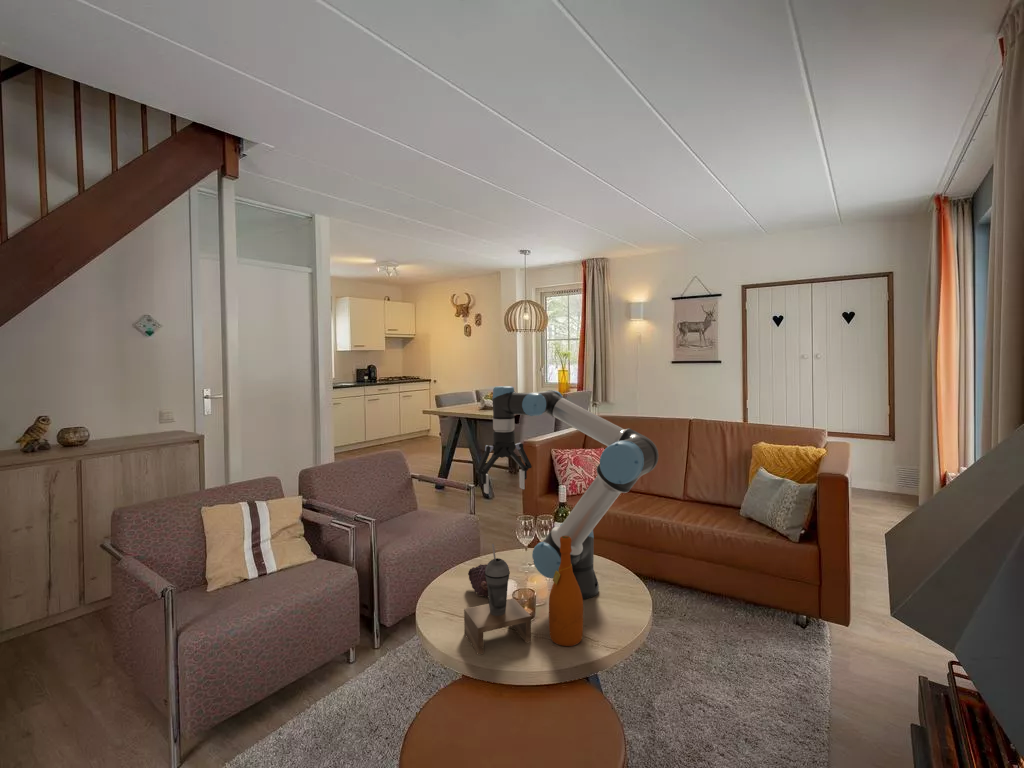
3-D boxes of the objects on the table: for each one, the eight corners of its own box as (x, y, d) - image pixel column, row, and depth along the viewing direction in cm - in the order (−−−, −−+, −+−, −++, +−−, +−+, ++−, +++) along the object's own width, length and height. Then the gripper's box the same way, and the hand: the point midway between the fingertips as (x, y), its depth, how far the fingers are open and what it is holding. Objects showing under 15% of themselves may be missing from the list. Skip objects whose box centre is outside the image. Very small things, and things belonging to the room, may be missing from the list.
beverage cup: (507, 619, 144) (506, 549, 143) (482, 617, 145) (481, 548, 144) (512, 607, 151) (511, 540, 150) (488, 605, 153) (487, 539, 152)
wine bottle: (554, 627, 154) (554, 529, 152) (586, 633, 150) (586, 532, 149) (544, 644, 145) (543, 540, 143) (578, 651, 141) (578, 544, 140)
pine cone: (459, 588, 180) (459, 561, 180) (483, 581, 186) (482, 554, 186) (487, 608, 166) (487, 577, 166) (512, 599, 172) (511, 570, 172)
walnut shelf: (514, 622, 157) (513, 598, 157) (531, 641, 146) (530, 615, 146) (464, 633, 151) (464, 608, 150) (478, 655, 140) (478, 628, 139)
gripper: (531, 427, 187) (531, 484, 188) (466, 431, 177) (467, 492, 178) (540, 429, 180) (541, 489, 181) (473, 434, 170) (474, 497, 171)
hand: (504, 490), depth 179 cm, fingers open, 13 cm apart
